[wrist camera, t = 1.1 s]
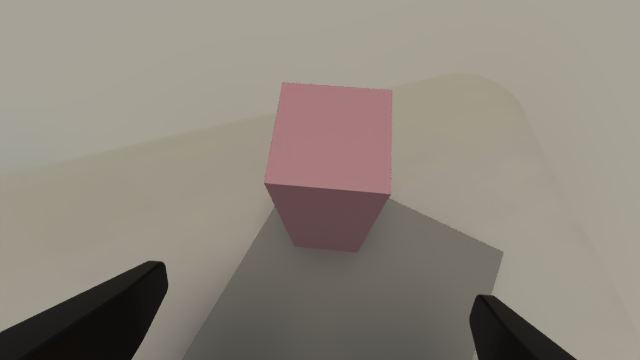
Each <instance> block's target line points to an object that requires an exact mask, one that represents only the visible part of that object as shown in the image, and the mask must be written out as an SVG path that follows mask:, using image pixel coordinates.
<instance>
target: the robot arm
mask: <svg viewBox="0 0 640 360" xmlns="http://www.w3.org/2000/svg"><path fill="white" fill-rule="evenodd" d="M167 290H168V279H167V273H166V267H165V264H164V263H163V262H161V261H147V262H145V263H143V264H141V265H139V266H137V267H135V268H132V269H130V270H128V271H126V272H124V273H122V274H120V275H118V276H116V277H114V278H112V279H110V280H108V281H105V282H103V283H101V284H99V285H97V286H95V287H93V288H91V289H89V290H87V291H85V292H83V293H81V294H78V295H76V296H74V297H72V298H70V299H68V300H66V301H64V302H62V303H60V304H58V305H56V306H54V307H51V308H49V309H47V310H45V311H43V312H41V313H39V314H37V315H35V316H33V317H31V318H29V319H27V320H24V321H22V322H20V323H18V324H16V325H14V326H12V327H10V328H8V329H6V330H4V331H2V332H0V360H131V359H132V358H133V356H134V354H135V353H136V351H137V349H138V348H139V346H140V344H141V343H142V341H143V339H144V337H145V335H146V333H147V331H148V329H149V327H150V325H151V323H152V321H153V319H154V317H155V315H156V313H157V311H158V309H159V307H160V305H161V303H162V301H163V299H164V297H165V295H166V292H167ZM469 324H470V328H471V332H472V336H473V340H474V344H475V348H476V352H477V356H478V360H577V359H575V358H574V357H573V356H571V355H570V354H569V353H568V352H566V351H565V350H564V349H562V348H561V347H560V346H558V345H557V344H556V343H555V342H553V341H552V340H551V339H549V338H548V337H547V336H545V335H544V334H543V333H542V332H540V331H539V330H538V329H536V328H535V327H534V326H532V325H531V324H530V323H529V322H527V321H526V320H525V319H523V318H522V317H521V316H519V315H518V314H517V313H516V312H514V311H513V310H512V309H510V308H509V307H508V306H506V305H505V304H504V303H503V302H501V301H500V300H499V299H497V298H496V297H495V296H492V295H485V294H478V295H477V296H476V297H475V300H474V303H473V306H472V309H471V313H470V316H469Z"/></svg>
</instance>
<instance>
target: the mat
mask: <svg viewBox="0 0 640 360" xmlns="http://www.w3.org/2000/svg"><path fill="white" fill-rule="evenodd" d="M503 253H504V252H502V251H500V250H498V249H496V248H493V247H491V246H489V245H487V244H485V243H483V242H481V241H479V240H476V239H474V238H472V237H470V236H468V235H466V234H464V233H462V232H459V231H457V230H455V229H453V228H451V227H449V226H447V225H444V224H442V223H440V222H438V221H436V220H434V219H432V218H430V217H427V216H425V215H423V214H421V213H419V212H417V211H415V210H412V209H410V208H408V207H406V206H404V205H402V204H400V203H398V202H395V201H393V200H391V199H389V198H388V200H387V202H386V203H385V205H384V207H383V209H382V210H381V212H380V214H379V216H378V217H377V219H376V221H375V223H374V224H373V226H372V228H371V230H370V231H369V233H368V235H367V237H366V238H365V240H364V242H363V244H362V245H361V247H360V249H359V251H358V252H348V251H338V250H328V249H318V248H307V247H297V246H294V244H293V242H292V240H291V238H290V236H289V234H288V232H287V230H286V228H285V226H284V223H283V221H282V219H281V217H280V215H279V213H278V211H277V209H276V207H274V209H273V211H272V212H271V214H270V216H269V217H268V219H267V221H266V222H265V224H264V226H263V227H262V229H261V231H260V232H259V234H258V235H257V237H256V239H255V240H254V242H253V244H252V245H251V247H250V249H249V250H248V252H247V254H246V255H245V257H244V259H243V260H242V262H241V264H240V265H239V267H238V269H237V270H236V272H235V274H234V275H233V277H232V278H231V280H230V282H229V283H228V285H227V287H226V288H225V290H224V292H223V293H222V295H221V297H220V298H219V300H218V302H217V303H216V305H215V307H214V308H213V310H212V312H211V313H210V315H209V317H208V318H207V320H206V321H205V323H204V325H203V326H202V328H201V330H200V331H199V333H198V335H197V336H196V338H195V340H194V341H193V343H192V345H191V346H190V348H189V350H188V351H187V353H186V355H185V356H184V358H183V360H472V357H473V354H474V350H475V344H474V340H473V336H472V332H471V328H470V324H469V316H470V313H471V309H472V306H473V303H474V300H475V297H476V296H477V295H478V294H485V295H491V293H492V290H493V286H494V283H495V280H496V276H497V273H498V269H499V266H500V263H501V259H502V256H503Z"/></svg>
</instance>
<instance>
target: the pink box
mask: <svg viewBox="0 0 640 360" xmlns="http://www.w3.org/2000/svg"><path fill="white" fill-rule="evenodd" d="M391 144H392V90H383V89H369V88H355V87H341V86H327V85H312V84H297V83H282V87H281V93H280V98H279V104H278V110H277V115H276V120H275V126H274V131H273V137H272V142H271V148H270V153H269V159H268V164H267V170H266V175H265V181H264V184H265V186H266V188H267V190H268V192H269V194H270V196H271V198H272V201H273V203H274V205H275V207H276V209H277V211H278V213H279V215H280V217H281V219H282V221H283V223H284V226H285V228H286V230H287V232H288V234H289V236H290V238H291V240H292V242H293V244H294V246H297V247H307V248H318V249H328V250H338V251H348V252H358V251H359V249H360V247H361V245H362V244H363V242H364V240H365V238H366V237H367V235H368V233H369V231H370V230H371V228H372V226H373V224H374V223H375V221H376V219H377V217H378V216H379V214H380V212H381V210H382V209H383V207H384V205H385V203H386V202H387V200H388V198H389V196H390V195H391Z"/></svg>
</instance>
